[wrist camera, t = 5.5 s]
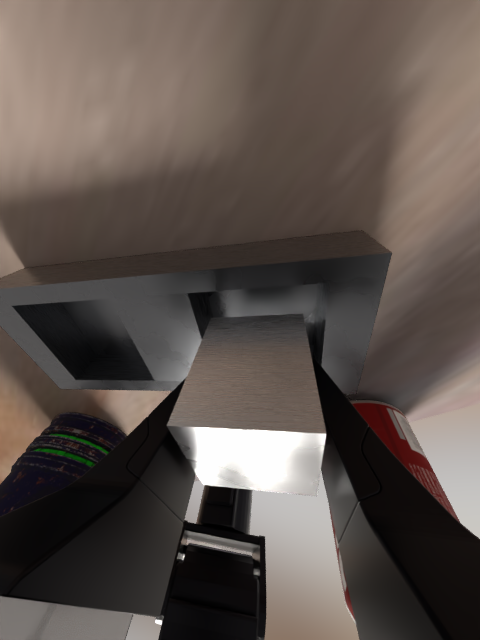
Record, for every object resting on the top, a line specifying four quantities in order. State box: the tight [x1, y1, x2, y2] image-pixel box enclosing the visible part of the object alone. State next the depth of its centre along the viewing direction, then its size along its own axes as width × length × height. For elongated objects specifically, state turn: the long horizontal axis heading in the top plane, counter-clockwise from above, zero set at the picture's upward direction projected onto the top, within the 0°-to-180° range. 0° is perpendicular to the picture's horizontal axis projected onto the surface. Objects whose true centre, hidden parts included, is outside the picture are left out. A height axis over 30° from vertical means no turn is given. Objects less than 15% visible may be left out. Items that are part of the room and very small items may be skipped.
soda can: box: [329, 400, 460, 624], centre depth 14 cm, size 7×7×12 cm
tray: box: [0, 230, 392, 394], centre depth 13 cm, size 8×20×3 cm, turn 99°
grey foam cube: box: [167, 314, 326, 496], centre depth 8 cm, size 4×4×5 cm
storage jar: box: [0, 413, 127, 516], centre depth 22 cm, size 10×10×15 cm
